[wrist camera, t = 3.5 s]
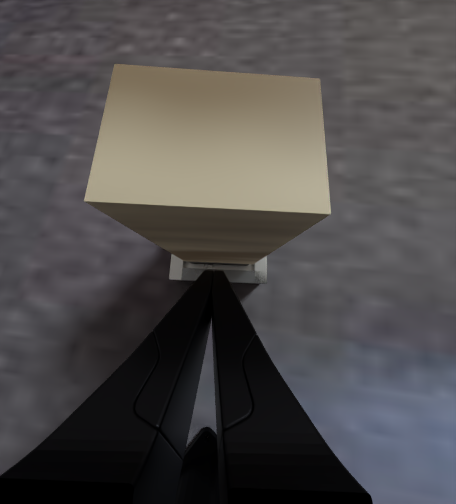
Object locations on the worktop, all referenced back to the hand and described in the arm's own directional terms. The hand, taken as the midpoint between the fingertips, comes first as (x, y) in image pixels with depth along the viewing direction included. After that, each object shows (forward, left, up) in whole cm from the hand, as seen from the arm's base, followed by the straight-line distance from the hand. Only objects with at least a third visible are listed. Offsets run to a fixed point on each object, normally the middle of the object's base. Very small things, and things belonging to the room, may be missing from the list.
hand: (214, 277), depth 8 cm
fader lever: (+3, +2, -7) cm, 8 cm away
